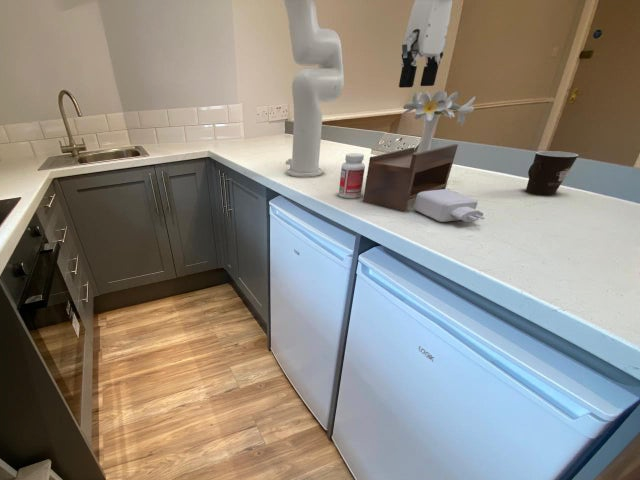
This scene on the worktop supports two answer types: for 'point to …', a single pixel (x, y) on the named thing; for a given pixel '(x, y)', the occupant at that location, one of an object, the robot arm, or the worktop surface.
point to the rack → (407, 175)
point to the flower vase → (435, 113)
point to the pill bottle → (352, 176)
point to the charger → (447, 206)
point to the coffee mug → (549, 171)
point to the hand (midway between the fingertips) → (416, 86)
